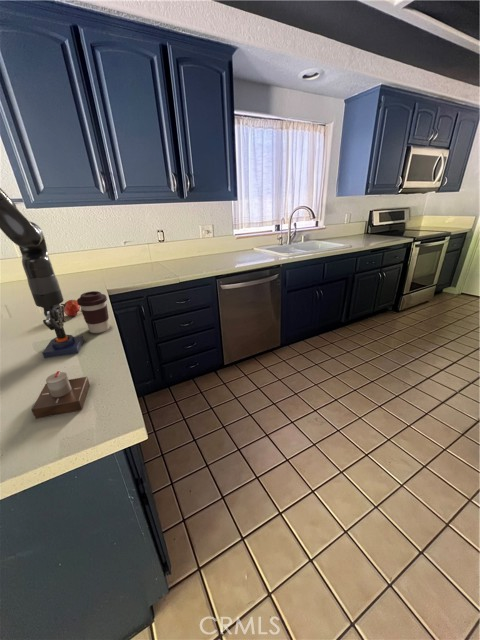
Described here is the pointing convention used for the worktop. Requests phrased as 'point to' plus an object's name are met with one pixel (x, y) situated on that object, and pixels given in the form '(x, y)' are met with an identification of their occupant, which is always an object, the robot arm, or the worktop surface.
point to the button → (62, 339)
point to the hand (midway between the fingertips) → (61, 337)
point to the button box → (63, 347)
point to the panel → (62, 399)
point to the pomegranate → (71, 308)
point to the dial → (58, 384)
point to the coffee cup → (94, 311)
